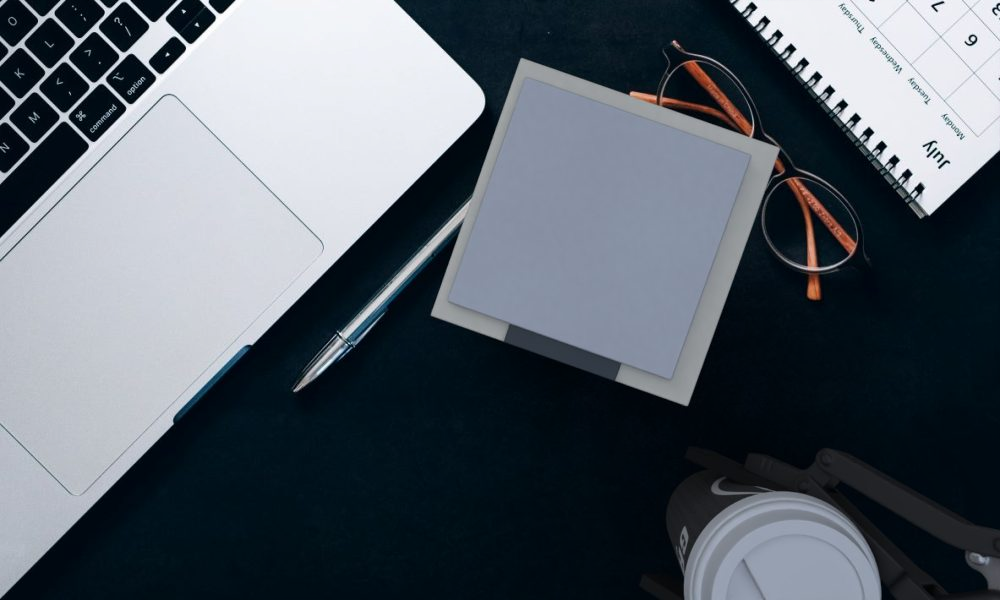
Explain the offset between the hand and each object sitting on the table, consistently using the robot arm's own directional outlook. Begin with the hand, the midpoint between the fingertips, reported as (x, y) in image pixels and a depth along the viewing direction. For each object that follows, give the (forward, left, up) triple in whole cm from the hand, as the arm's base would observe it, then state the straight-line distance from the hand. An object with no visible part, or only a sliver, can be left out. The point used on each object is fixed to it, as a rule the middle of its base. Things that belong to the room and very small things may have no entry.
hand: (675, 517), depth 49 cm
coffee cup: (0, -3, -4) cm, 5 cm away
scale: (+14, +10, +5) cm, 18 cm away
